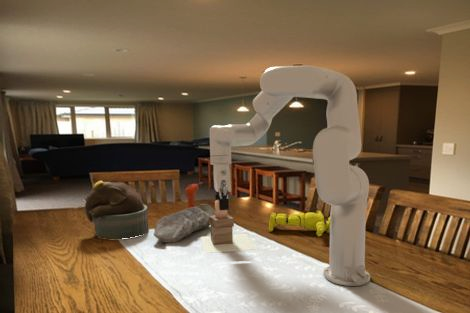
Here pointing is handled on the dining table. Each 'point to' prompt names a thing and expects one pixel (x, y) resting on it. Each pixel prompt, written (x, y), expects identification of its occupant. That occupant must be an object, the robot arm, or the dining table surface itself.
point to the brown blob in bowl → (116, 211)
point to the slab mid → (222, 231)
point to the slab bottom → (221, 240)
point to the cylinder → (219, 211)
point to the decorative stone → (183, 223)
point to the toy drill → (192, 193)
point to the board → (238, 244)
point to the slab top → (221, 222)
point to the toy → (302, 221)
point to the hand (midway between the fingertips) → (221, 207)
